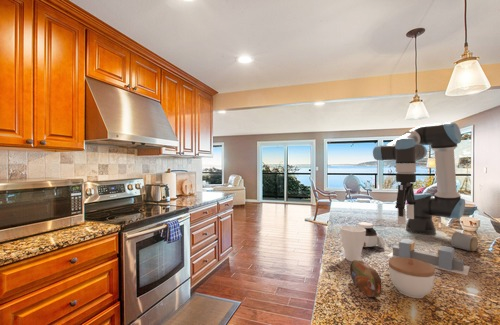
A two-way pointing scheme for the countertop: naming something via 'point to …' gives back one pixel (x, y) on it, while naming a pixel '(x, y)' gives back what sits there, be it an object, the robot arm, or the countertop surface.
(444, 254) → the fitted finger
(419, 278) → the lidded bowl
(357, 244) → the cup
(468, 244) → the grey cylinder
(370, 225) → the spread jar
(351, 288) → the countertop surface
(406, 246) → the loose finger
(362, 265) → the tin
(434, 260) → the rail board
